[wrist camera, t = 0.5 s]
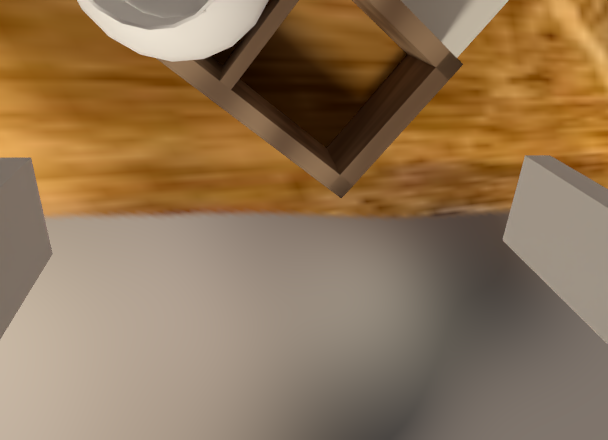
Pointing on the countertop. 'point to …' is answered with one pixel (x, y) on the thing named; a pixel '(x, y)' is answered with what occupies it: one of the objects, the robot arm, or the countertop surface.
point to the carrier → (370, 118)
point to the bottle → (175, 25)
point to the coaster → (455, 19)
